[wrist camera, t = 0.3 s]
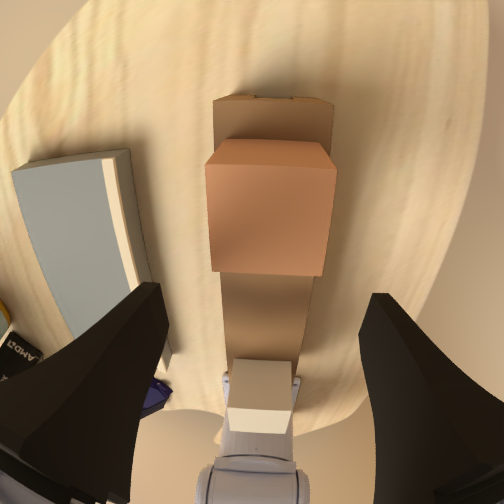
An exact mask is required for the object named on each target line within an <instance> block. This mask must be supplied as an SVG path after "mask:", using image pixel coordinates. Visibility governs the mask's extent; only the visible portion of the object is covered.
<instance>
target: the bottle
mask: <svg viewBox="0 0 504 504" xmlns="http://www.w3.org/2000/svg"><path fill="white" fill-rule="evenodd" d="M9 326H10V315H9V312H8V310H7V308H6V307H5V305H4V304H3V302H2V301H1V300H0V340H1V338H2V337H3V335H4V334H5V333H6V331H7V330H8V328H9Z"/></svg>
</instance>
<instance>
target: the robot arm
mask: <svg viewBox="0 0 504 504" xmlns="http://www.w3.org/2000/svg"><path fill="white" fill-rule="evenodd" d="M168 329H169V321H168V317H167V313H166V309H165V305H164V300H163V296H162V291H161V287H160V283H156V282H142V283H141V284H140V285H139V286H138V287H136V288H135V289H134V290H133V291H132V292H131V293H130V294H128V295H127V296H126V297H125V298H124V299H123V300H122V301H121V302H119V303H118V304H117V305H116V306H115V307H114V308H113V309H111V310H110V311H109V312H108V313H107V314H106V315H105V316H104V317H102V318H101V319H100V320H99V321H98V322H96V323H95V324H94V325H93V326H91V327H90V328H89V329H88V330H87V331H85V332H84V333H83V334H82V335H80V336H79V337H78V338H76V339H75V340H74V341H72V342H71V343H70V344H68V345H67V346H65V347H64V348H62V349H61V350H60V351H58V352H57V353H55V354H53V355H52V356H50V357H48V358H47V359H45V360H43V361H42V362H40V363H38V364H37V365H35V366H33V367H31V368H30V369H28V370H26V371H24V372H22V373H20V374H17V375H15V376H13V377H11V378H9V379H6V380H4V381H1V382H0V504H95V502H97V503H100V504H106V502H107V501H109V502H112V503H114V504H127V503H129V502H130V487H131V473H132V464H133V456H134V449H135V443H136V437H137V432H138V427H139V422H140V417H141V413H142V409H143V406H144V402H145V399H146V396H147V393H148V391H149V388H150V385H151V382H152V380H153V377H154V374H155V372H156V369H157V366H158V364H159V361H160V358H161V355H162V353H163V350H164V346H165V342H166V338H167V333H168ZM358 336H359V345H360V354H361V361H362V366H363V370H364V375H365V379H366V384H367V388H368V393H369V397H370V402H371V407H372V412H373V418H374V426H375V443H376V478H375V493H374V502H373V504H504V402H502V401H501V400H499V399H498V398H496V397H495V396H493V395H492V394H490V393H489V392H488V391H486V390H485V389H484V388H482V387H481V386H480V385H478V384H477V383H476V382H475V381H473V380H472V379H471V378H470V377H469V376H467V375H466V374H465V373H464V372H463V371H462V370H461V369H460V368H458V367H457V366H456V365H455V364H454V363H453V362H452V361H451V360H450V359H449V358H448V357H447V356H446V355H445V354H444V353H443V352H442V351H441V350H440V349H439V348H438V347H437V346H436V345H435V344H434V343H433V342H432V341H431V340H430V339H429V338H428V336H426V334H425V333H424V332H423V331H422V330H421V329H420V328H419V327H418V325H417V324H416V323H415V322H414V321H413V320H412V319H411V317H410V316H409V315H408V314H407V313H406V312H405V311H404V309H403V308H402V307H401V306H400V305H399V304H398V303H397V302H396V301H395V300H394V298H393V297H392V296H391V295H390V294H389V293H372V296H371V299H370V302H369V305H368V308H367V311H366V314H365V317H364V320H363V323H362V326H361V328H360V331H359V334H358ZM222 382H223V390H224V397H225V404H226V410H225V417H224V424H223V431H222V438H221V445H220V452H219V457H215V462H214V465H212V464H208V465H207V466H206V467H204V468H203V469H202V470H201V472H200V474H199V477H198V481H197V486H196V494H195V504H309V502H310V486H309V479H308V476H307V475H306V474H305V473H304V472H303V470H301V469H296V462H293V409H294V405H295V401H296V398H297V394H298V390H299V386H300V383H301V381H300V378H298V377H295V379H294V383H293V388H292V412H291V415H290V419H289V422H288V426H287V429H286V433H285V434H276V433H254V432H240V431H230V426H229V419H228V412H227V403H228V396H229V389H230V387H229V377H228V374H223V376H222Z"/></svg>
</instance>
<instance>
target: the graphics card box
mask: <svg viewBox="0 0 504 504" xmlns="http://www.w3.org/2000/svg"><path fill="white" fill-rule="evenodd" d="M42 361H43V354H42V353H41V352H40V351H38V350H37V349H35V348H34V347H32V346H31V345H29V344H28V343H27V342H25V341H24V340H23V339H21V338H19V337H18V336H17V335H15V334H14V333H13V332H10V333H9V335H8V336H7V338H6V339H5V341H4V343H3V344H2V346H1V347H0V382H1V381H4V380H6V379H9V378H11V377H13V376H15V375H17V374H20V373H22V372H24V371H26V370H28V369H30V368H31V367H33V366H35V365H37V364H38V363H40V362H42Z"/></svg>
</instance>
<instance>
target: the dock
mask: <svg viewBox="0 0 504 504" xmlns="http://www.w3.org/2000/svg"><path fill="white" fill-rule="evenodd" d="M11 174H12V178H13V183H14V187H15V191H16V195H17V198H18V202H19V206H20V209H21V213H22V216H23V219H24V222H25V226H26V229H27V232H28V235H29V238H30V240H31V243H32V246H33V249H34V252H35V254H36V257H37V260H38V262H39V265H40V267H41V270H42V272H43V275H44V277H45V279H46V282H47V284H48V286H49V289H50V291H51V293H52V295H53V297H54V300H55V302H56V304H57V306H58V308H59V310H60V312H61V314H62V316H63V318H64V320H65V322H66V324H67V326H68V328H69V330H70V332H71V334H72V335H73V337H74V339H76V338H78V337H79V336H80V335H82V334H83V333H84V332H85V331H87V330H88V329H89V328H90V327H91V326H93V325H94V324H95V323H96V322H98V321H99V320H100V319H101V318H102V317H104V316H105V315H106V314H107V313H108V312H109V311H110V310H111V309H113V308H114V307H115V306H116V305H117V304H118V303H119V302H121V301H122V300H123V299H124V298H125V297H126V296H127V295H128V294H130V293H131V292H132V291H133V290H134V289H135V288H136V287H138V286H139V285H140V284H141V283H142V282H152V277H151V273H150V269H149V264H148V259H147V255H146V250H145V245H144V240H143V235H142V229H141V224H140V218H139V213H138V207H137V201H136V194H135V188H134V181H133V174H132V166H131V158H130V150H129V149H120V150H110V151H101V152H93V153H85V154H77V155H70V156H64V157H57V158H51V159H45V160H40V161H34V162H29V163H26V164H24V165H22V166H21V167H19V168H17V169H15V170H13V171H12V172H11ZM171 356H172V353H171V350H170V346H169V343H168V339H167V338H166V342H165V346H164V350H163V353H162V355H161V358H160V361H159V364H158V366H157V369H158V371H159V372H165V373H166V372H167V369H168V366H169V362H170V359H171Z"/></svg>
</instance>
